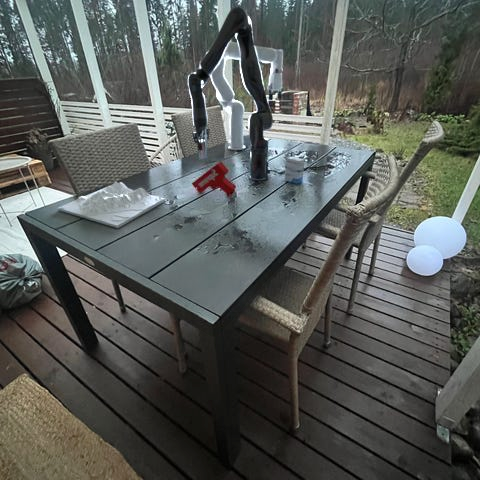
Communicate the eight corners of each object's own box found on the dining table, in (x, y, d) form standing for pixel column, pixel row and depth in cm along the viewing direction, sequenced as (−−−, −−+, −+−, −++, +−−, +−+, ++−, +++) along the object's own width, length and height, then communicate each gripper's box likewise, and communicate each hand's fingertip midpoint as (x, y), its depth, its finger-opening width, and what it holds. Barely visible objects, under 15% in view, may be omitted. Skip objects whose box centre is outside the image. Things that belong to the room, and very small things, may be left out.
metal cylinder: (204, 156, 159) (203, 139, 154) (208, 158, 156) (207, 140, 151) (198, 158, 157) (196, 140, 152) (202, 159, 154) (200, 141, 148)
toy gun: (240, 187, 127) (221, 160, 123) (237, 190, 124) (218, 163, 120) (214, 205, 137) (195, 180, 133) (210, 208, 134) (191, 183, 130)
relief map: (117, 228, 103) (114, 216, 100) (59, 210, 116) (54, 199, 113) (165, 201, 123) (163, 190, 120) (110, 188, 136) (107, 178, 134)
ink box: (302, 181, 142) (305, 159, 136) (297, 184, 139) (300, 161, 133) (289, 177, 147) (291, 156, 141) (284, 180, 144) (285, 158, 138)
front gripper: (201, 114, 151) (204, 145, 161) (186, 118, 141) (189, 151, 150) (212, 115, 149) (214, 147, 158) (198, 119, 138) (201, 153, 147)
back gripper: (279, 71, 193) (278, 98, 202) (264, 71, 183) (263, 100, 192) (288, 71, 189) (286, 99, 198) (272, 71, 178) (271, 100, 188)
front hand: (202, 149), depth 154 cm, fingers closed on metal cylinder, 4 cm apart
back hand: (274, 99), depth 195 cm, fingers open, 9 cm apart
